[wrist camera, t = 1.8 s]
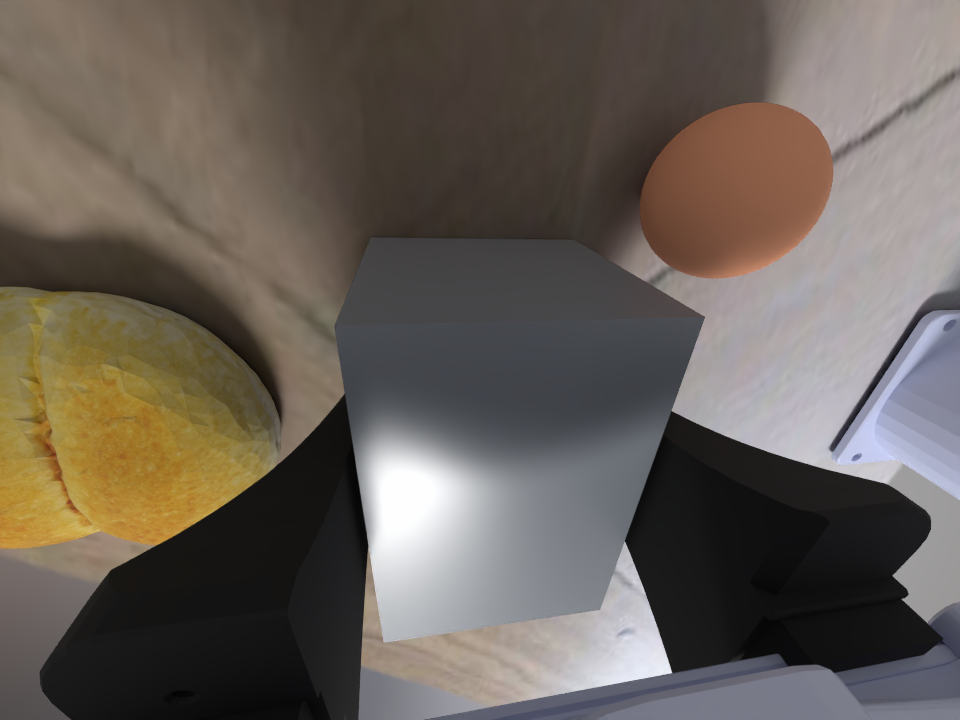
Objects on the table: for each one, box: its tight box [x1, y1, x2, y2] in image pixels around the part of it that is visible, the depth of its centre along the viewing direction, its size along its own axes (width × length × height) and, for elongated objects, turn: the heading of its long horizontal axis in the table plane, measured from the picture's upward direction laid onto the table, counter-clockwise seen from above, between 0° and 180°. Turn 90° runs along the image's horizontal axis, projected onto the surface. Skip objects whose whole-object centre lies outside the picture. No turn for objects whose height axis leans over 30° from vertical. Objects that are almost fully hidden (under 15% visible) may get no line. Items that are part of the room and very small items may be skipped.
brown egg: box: [640, 103, 833, 278], centre depth 10 cm, size 4×4×4 cm
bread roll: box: [0, 287, 281, 549], centre depth 11 cm, size 8×9×4 cm
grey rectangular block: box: [335, 237, 705, 643], centre depth 11 cm, size 6×9×6 cm, turn 177°
